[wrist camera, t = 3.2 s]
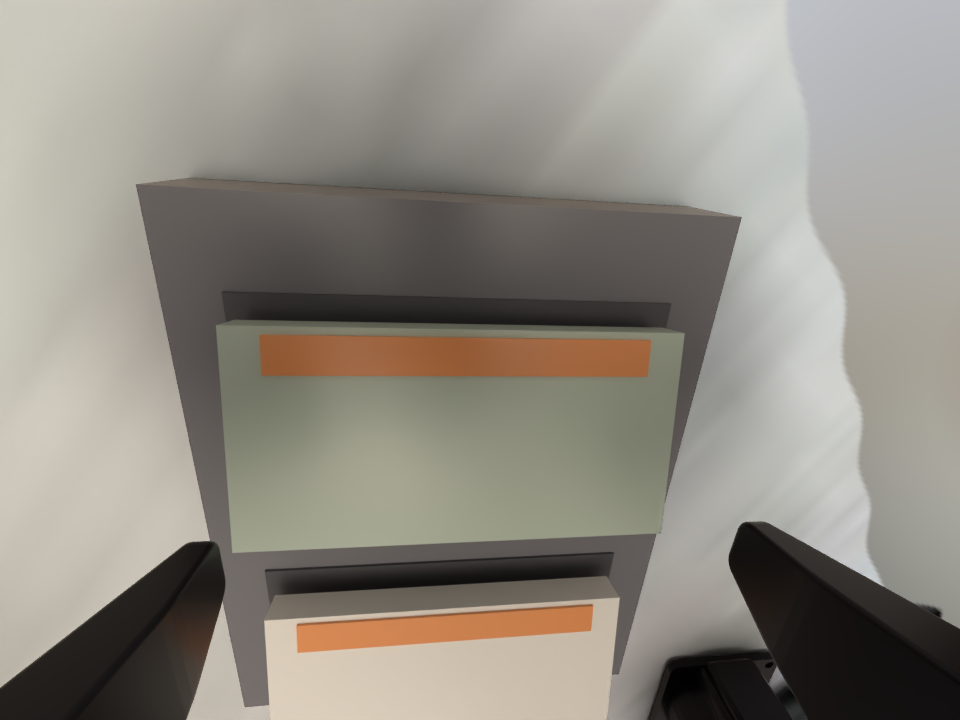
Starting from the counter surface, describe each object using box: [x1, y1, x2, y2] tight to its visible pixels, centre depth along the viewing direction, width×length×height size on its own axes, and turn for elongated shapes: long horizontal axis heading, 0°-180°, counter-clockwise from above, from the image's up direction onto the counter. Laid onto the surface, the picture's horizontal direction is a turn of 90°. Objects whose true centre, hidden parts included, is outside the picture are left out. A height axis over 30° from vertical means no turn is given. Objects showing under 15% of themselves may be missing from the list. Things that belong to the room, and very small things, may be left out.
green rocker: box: [216, 320, 685, 553], centre depth 14 cm, size 6×12×2 cm, turn 87°
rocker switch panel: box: [136, 178, 742, 707], centre depth 18 cm, size 20×16×3 cm
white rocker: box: [264, 576, 620, 720], centre depth 18 cm, size 6×12×2 cm, turn 87°
